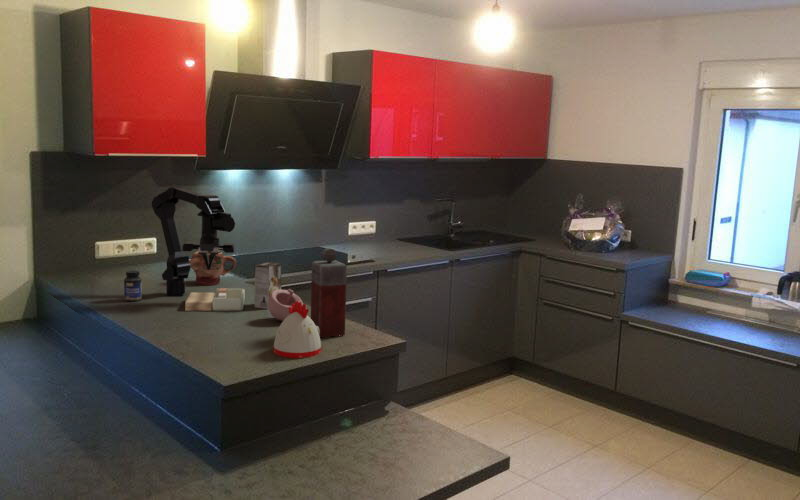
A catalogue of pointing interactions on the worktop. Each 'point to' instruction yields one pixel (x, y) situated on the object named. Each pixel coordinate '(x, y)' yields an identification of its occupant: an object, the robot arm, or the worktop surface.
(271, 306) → the mortar and pestle
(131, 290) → the pill bottle
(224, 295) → the offwhite tile
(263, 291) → the coffee box
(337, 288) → the red square decanter
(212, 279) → the decorative planter
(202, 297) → the oak board
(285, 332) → the kitchen timer
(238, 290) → the tray
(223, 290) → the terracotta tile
